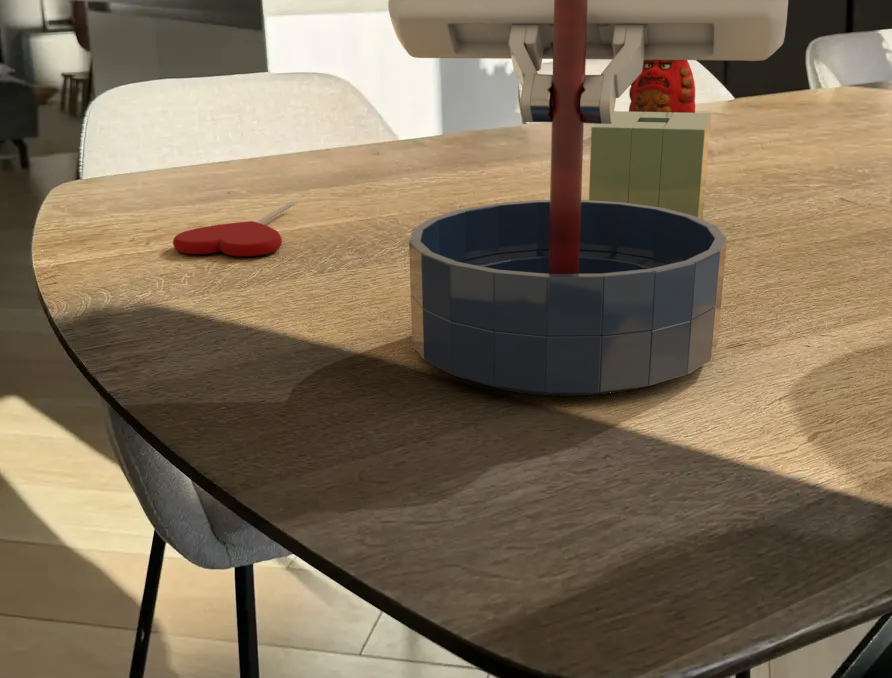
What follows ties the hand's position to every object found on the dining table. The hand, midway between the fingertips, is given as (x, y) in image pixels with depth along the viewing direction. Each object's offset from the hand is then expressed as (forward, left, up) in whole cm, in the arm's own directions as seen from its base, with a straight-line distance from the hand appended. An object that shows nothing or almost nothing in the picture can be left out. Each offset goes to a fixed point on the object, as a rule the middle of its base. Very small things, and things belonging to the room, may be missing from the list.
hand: (566, 116), depth 55 cm
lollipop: (+2, -35, -13) cm, 38 cm away
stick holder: (-23, -18, -13) cm, 32 cm away
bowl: (0, 0, -13) cm, 13 cm away
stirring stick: (0, 0, -10) cm, 10 cm away
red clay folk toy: (-56, -51, -13) cm, 77 cm away
